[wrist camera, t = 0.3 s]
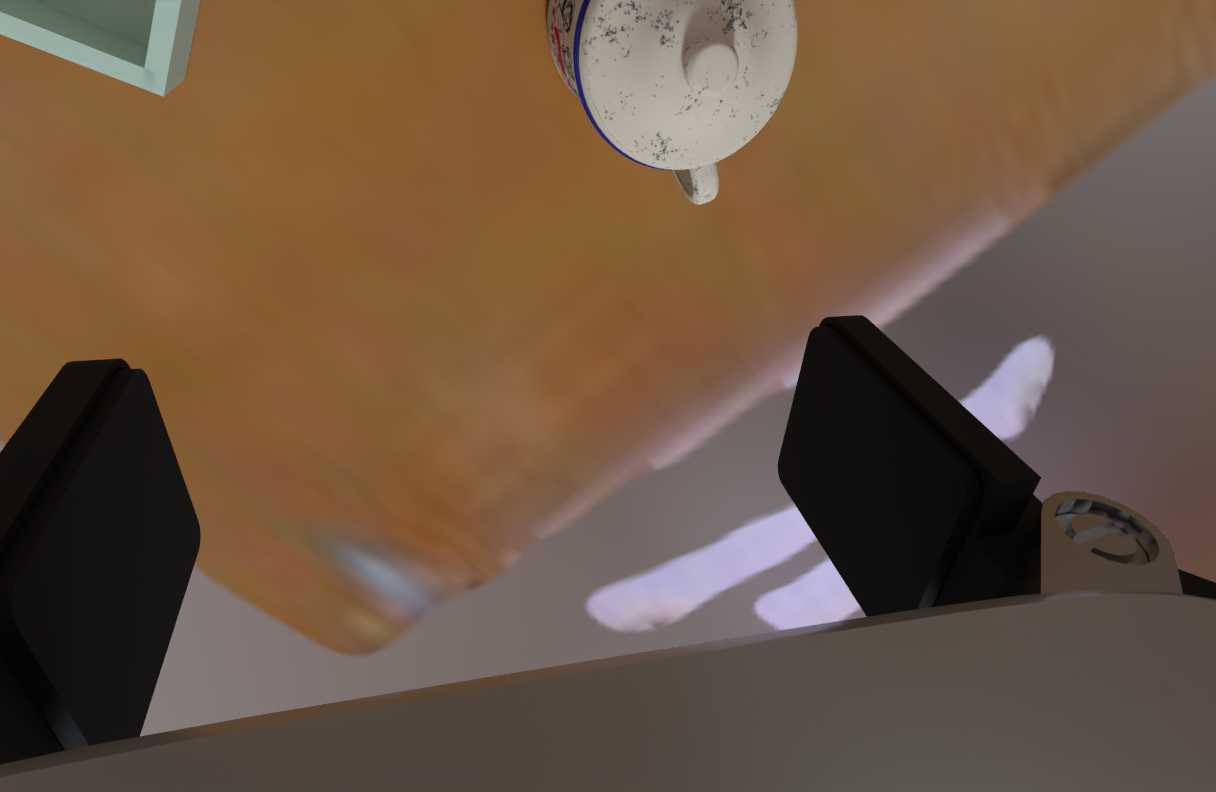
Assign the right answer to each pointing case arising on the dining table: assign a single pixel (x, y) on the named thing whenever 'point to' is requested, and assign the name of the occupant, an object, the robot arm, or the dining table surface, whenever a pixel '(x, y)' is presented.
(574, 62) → the teacup with lid
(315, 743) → the robot arm
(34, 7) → the tray
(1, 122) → the dining table surface
